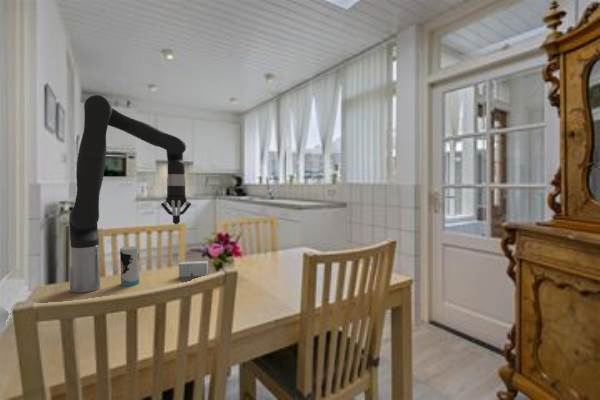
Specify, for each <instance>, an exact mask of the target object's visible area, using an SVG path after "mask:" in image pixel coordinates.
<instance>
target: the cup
mask: <svg viewBox="0 0 600 400" xmlns="http://www.w3.org/2000/svg"><path fill="white" fill-rule="evenodd" d="M119 255H120V256H119V257H120V262H119V263H120V285H121V286H123V287H131V286H133V287H134V286H136V285H138V284H140V262H139V261H140V259H139V258H140V257H139V255H140V254H139V246H135V245H134V246H133V245H132V246H122V247H120V248H119Z"/></svg>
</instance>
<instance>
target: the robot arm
mask: <svg viewBox="0 0 600 400" xmlns="http://www.w3.org/2000/svg"><path fill="white" fill-rule="evenodd" d="M83 110H84V113H83V114H84V124H83V132H82V137H81V141H80V144H79V147H78V154H77V159H76V172H75V173H76V176H75V177H76V178H75V179H76V180H75V181H76V195H75V200H74V205H73V208H71V210H70V212H69V216H68V217H69V218H68V219H69V220H68V221H69V241H70V260H71V261H70V263H71V265H70V267H69V290H70V291H69V292H70V293H78V294H80V293H81V294H82V293H88V292H93V291H96V290H98V289H100V288H101V275H100V274H101V270H100V268H101V267H100V266H101V265H100V239H99V232H98V228H99V227H98V223H99V219H100V194H101V189H102V185H103V180H104V174H105V168H106V161H107V130H108V126H109V127H112V128H115V129H117V130H120V131H123V132H124V133H127V134H129V135H131V136H133V137H135V138H137V139H139V140H141V141H143V142H146V143H147V144H149V145H152V146H155V147H159V148H161V149H163V150H165V151H166V158H167V178H166V190H167V191H166V198H165V200H164V202H161V203H160V205H161V207H162V208H163V209H164V211H166V213H167V214H168V215H171V216H172V223H173V225H179V224H180V222H181V221H180V220H181V217H180V216H181V215H184V214H185V213H186V212H187V210H188V209H189V208H190V207H191V205H192V203H191V202H189V201H188V200H187V198H186V176H185V175H186V174H185V171H186V170H185V168H186V167H185V163H184V155H183V154H184V152H186V149H187V146H186V142H184V140H182V138H179V137H177V136H175V135H173V134H168V133H166V132H164V131H162V130H160V129H158V128H157V127H154V126H152V125H150V124H148V123H146V122H143V121H140V120H137V119H135V118H132V117H129V116H127V115H125V114H122V113H121V112H119V111H118V110H117V109H115V108H113V106H112V103H111V102H110V101H109V99H107V98H106V97H104V96H102V95H100V94H95V95H91V96H89V97H88V98H87V99H86V100H85V102H84V105H83ZM168 205H169V207H170V208H171V210H172V211H171V210H170V208H169V207H168ZM183 206H185V207H183ZM182 207H183V209H182V210H181V208H182ZM176 208H177V209H176Z"/></svg>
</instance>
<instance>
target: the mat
mask: <svg viewBox="0 0 600 400" xmlns="http://www.w3.org/2000/svg"><path fill="white" fill-rule="evenodd" d="M198 277H201V276H194V277H180V278H181V279H180V281H181V282H190V281H189V280H192V279H195V278H198Z"/></svg>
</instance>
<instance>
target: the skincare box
mask: <svg viewBox="0 0 600 400" xmlns="http://www.w3.org/2000/svg"><path fill="white" fill-rule="evenodd" d="M208 269H209V261H208V260H200V261H199V260H195V261H179V263H178V277H179V278H181V277H194V276H205V275H208Z"/></svg>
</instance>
